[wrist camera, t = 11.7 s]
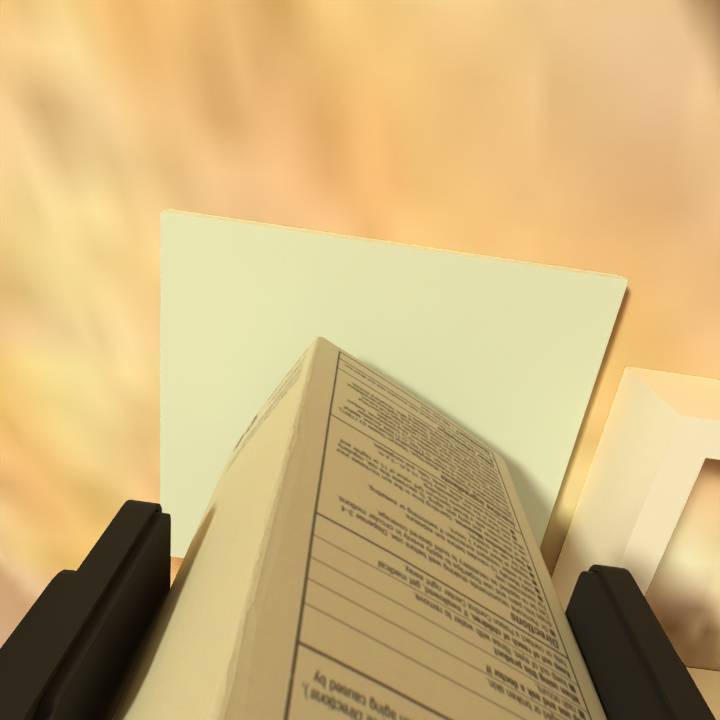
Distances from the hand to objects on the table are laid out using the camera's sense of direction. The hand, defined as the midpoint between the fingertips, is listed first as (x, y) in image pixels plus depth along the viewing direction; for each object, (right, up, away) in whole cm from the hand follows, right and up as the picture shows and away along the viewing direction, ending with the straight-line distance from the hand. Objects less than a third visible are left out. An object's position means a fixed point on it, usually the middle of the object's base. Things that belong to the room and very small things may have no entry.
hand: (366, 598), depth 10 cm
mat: (0, +2, +6) cm, 7 cm away
